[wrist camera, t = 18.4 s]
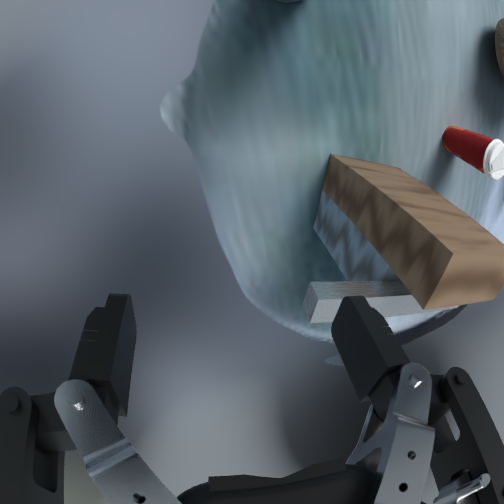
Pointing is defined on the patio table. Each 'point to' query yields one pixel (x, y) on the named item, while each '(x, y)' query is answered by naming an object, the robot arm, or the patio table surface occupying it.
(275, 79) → the patio table surface
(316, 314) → the aluminium bar
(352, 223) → the display riser
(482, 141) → the coffee cup
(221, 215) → the patio table surface
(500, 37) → the jug
